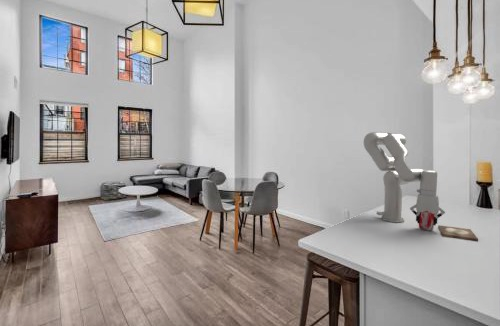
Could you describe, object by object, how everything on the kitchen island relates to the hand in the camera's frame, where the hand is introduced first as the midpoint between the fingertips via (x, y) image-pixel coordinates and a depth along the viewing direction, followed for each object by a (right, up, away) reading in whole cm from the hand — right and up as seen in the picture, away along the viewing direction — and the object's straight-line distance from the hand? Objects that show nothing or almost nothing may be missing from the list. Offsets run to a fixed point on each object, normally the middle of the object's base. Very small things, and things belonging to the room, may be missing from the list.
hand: (426, 223), depth 139 cm
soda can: (0, -4, 0) cm, 4 cm away
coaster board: (+11, -4, -7) cm, 14 cm away
